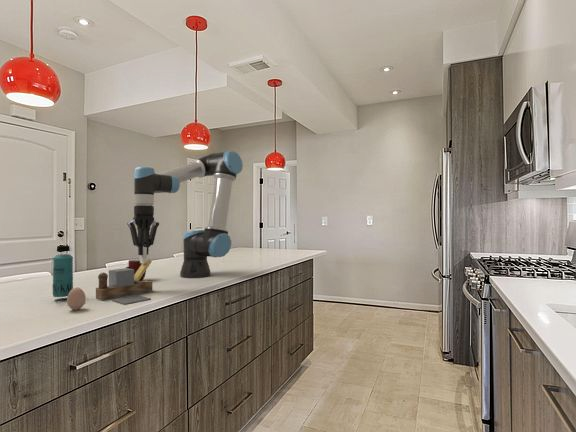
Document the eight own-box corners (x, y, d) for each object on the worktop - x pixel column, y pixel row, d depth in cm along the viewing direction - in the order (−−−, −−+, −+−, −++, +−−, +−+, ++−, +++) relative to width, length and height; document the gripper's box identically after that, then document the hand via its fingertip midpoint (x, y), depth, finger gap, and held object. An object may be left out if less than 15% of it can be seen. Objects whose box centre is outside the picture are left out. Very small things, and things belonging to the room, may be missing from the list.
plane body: (145, 289, 149) (145, 266, 149) (152, 291, 146) (152, 267, 146) (95, 298, 134) (95, 272, 134) (101, 300, 130) (101, 273, 130)
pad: (138, 296, 138) (138, 295, 138) (150, 299, 132) (150, 298, 132) (111, 301, 130) (111, 299, 130) (124, 304, 124) (124, 303, 124)
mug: (131, 284, 162) (131, 262, 162) (120, 282, 166) (119, 261, 166) (150, 280, 171) (150, 259, 171) (139, 279, 175) (139, 258, 175)
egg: (86, 310, 117) (86, 288, 117) (66, 312, 114) (66, 289, 114) (85, 307, 122) (85, 285, 122) (66, 309, 119) (66, 286, 119)
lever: (131, 282, 144) (146, 260, 149) (137, 284, 141) (152, 261, 146) (129, 281, 143) (144, 259, 148) (134, 282, 141) (150, 259, 146)
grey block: (126, 283, 143) (126, 268, 143) (134, 284, 140) (134, 269, 140) (108, 285, 138) (108, 270, 138) (116, 287, 134) (116, 271, 134)
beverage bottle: (54, 298, 134) (54, 245, 134) (74, 296, 137) (74, 244, 137) (50, 302, 128) (50, 246, 128) (72, 300, 131) (71, 245, 131)
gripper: (153, 206, 153) (152, 261, 153) (123, 204, 143) (123, 263, 143) (163, 205, 149) (162, 262, 148) (133, 204, 139) (132, 265, 138)
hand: (143, 263), depth 146 cm, fingers closed
